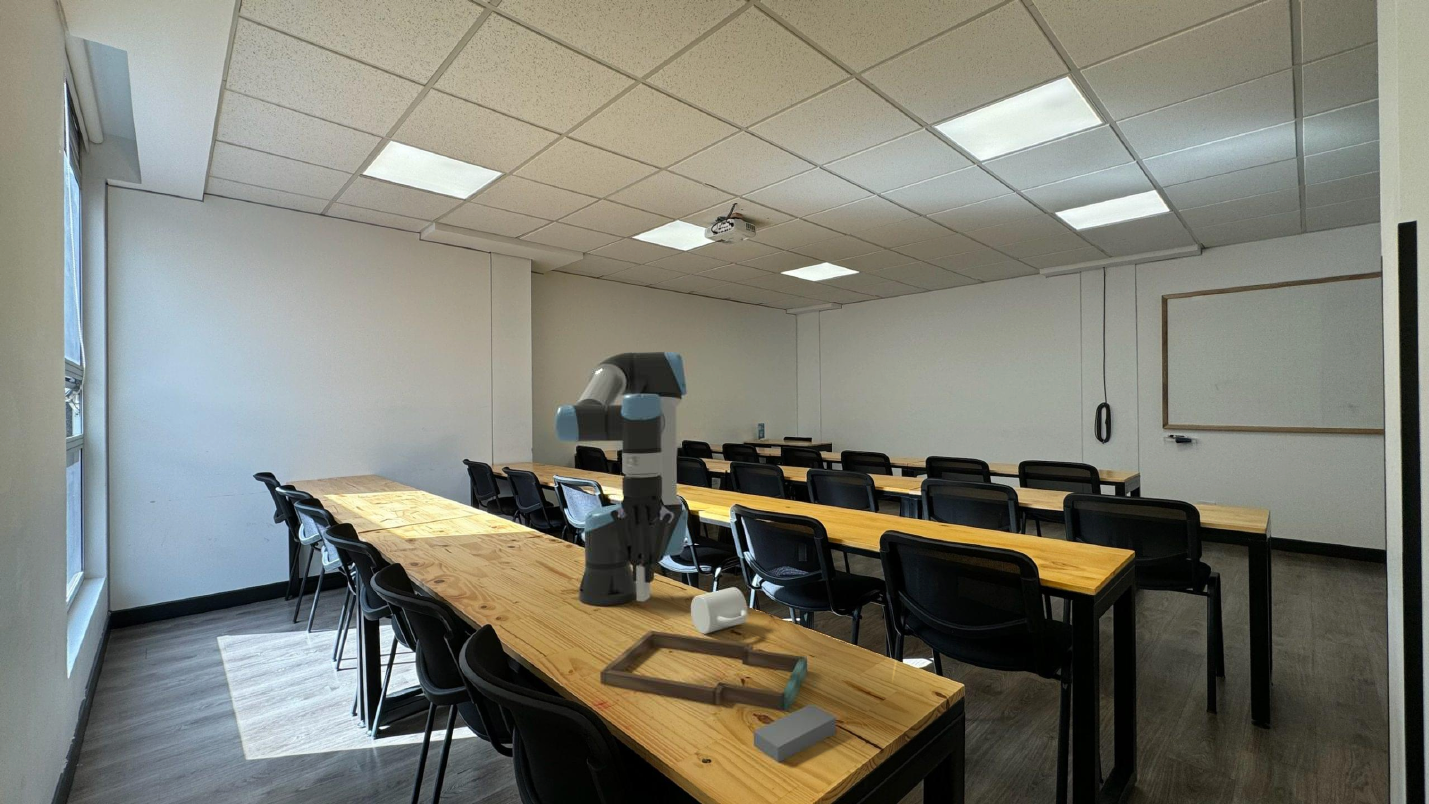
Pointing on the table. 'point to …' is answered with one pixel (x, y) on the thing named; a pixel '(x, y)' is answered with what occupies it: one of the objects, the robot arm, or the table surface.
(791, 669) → the keyhole corral
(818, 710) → the block
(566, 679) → the table surface
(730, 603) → the mug
